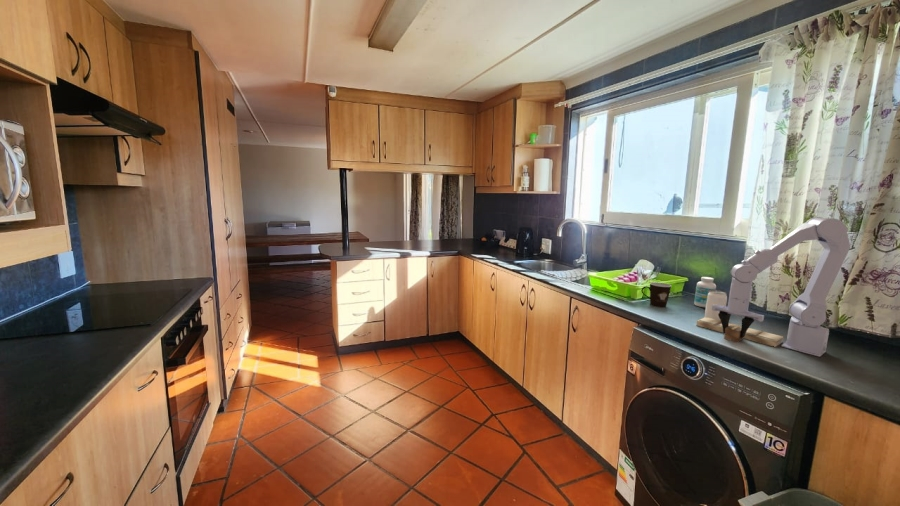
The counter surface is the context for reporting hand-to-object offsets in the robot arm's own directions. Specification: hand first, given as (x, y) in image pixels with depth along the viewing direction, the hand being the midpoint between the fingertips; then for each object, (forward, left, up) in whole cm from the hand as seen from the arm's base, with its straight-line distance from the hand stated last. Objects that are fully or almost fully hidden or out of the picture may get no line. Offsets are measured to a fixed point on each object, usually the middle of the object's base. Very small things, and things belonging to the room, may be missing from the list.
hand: (733, 334), depth 129 cm
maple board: (+1, -8, -1) cm, 8 cm away
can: (+12, -18, -2) cm, 21 cm away
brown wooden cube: (0, 0, -2) cm, 2 cm away
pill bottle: (+23, -37, -2) cm, 43 cm away
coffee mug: (+36, -18, -2) cm, 40 cm away
